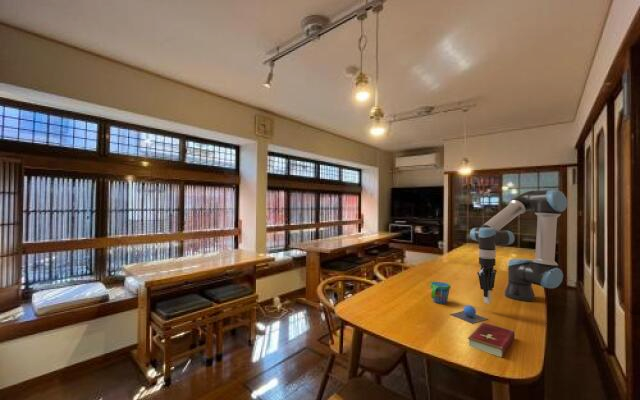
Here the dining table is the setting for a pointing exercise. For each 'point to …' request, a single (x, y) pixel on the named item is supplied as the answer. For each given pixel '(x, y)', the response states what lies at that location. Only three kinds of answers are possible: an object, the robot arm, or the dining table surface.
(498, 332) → the hardcover book
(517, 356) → the dining table surface
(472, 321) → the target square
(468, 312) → the ball
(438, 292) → the snack cup
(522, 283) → the robot arm
